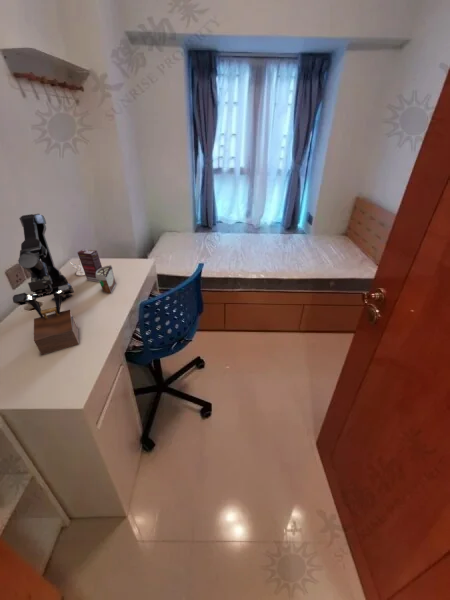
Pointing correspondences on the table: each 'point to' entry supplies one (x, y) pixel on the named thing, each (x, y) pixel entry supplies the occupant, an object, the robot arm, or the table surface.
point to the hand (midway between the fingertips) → (50, 315)
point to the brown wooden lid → (52, 324)
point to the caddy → (59, 341)
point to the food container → (106, 278)
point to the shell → (80, 270)
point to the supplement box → (90, 263)
